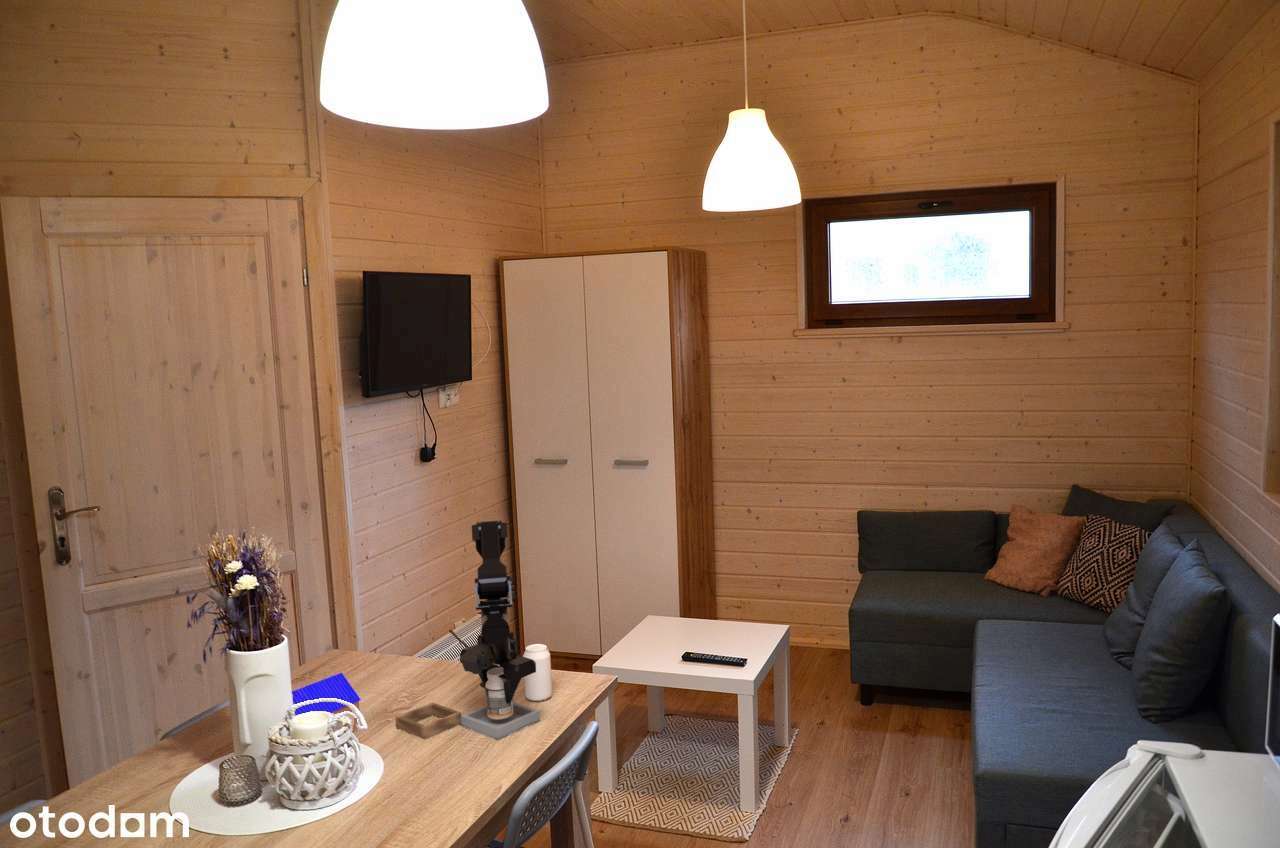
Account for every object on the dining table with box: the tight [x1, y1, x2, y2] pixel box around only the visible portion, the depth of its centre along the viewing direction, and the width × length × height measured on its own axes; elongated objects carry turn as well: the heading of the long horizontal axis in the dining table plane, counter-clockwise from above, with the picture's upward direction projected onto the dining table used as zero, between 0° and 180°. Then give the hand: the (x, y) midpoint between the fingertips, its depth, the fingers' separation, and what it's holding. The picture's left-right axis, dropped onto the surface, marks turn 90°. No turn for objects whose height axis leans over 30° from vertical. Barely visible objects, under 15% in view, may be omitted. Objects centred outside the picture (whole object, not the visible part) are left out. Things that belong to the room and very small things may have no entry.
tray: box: [460, 701, 541, 741], centre depth 214 cm, size 12×12×2 cm
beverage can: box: [522, 643, 553, 702], centre depth 228 cm, size 6×6×12 cm
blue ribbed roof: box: [291, 672, 361, 733], centre depth 210 cm, size 12×20×12 cm, turn 145°
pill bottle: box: [484, 667, 514, 720], centre depth 214 cm, size 6×6×10 cm
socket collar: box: [394, 702, 463, 741], centre depth 215 cm, size 10×10×2 cm
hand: (499, 699), depth 214 cm, fingers closed on pill bottle, 6 cm apart
